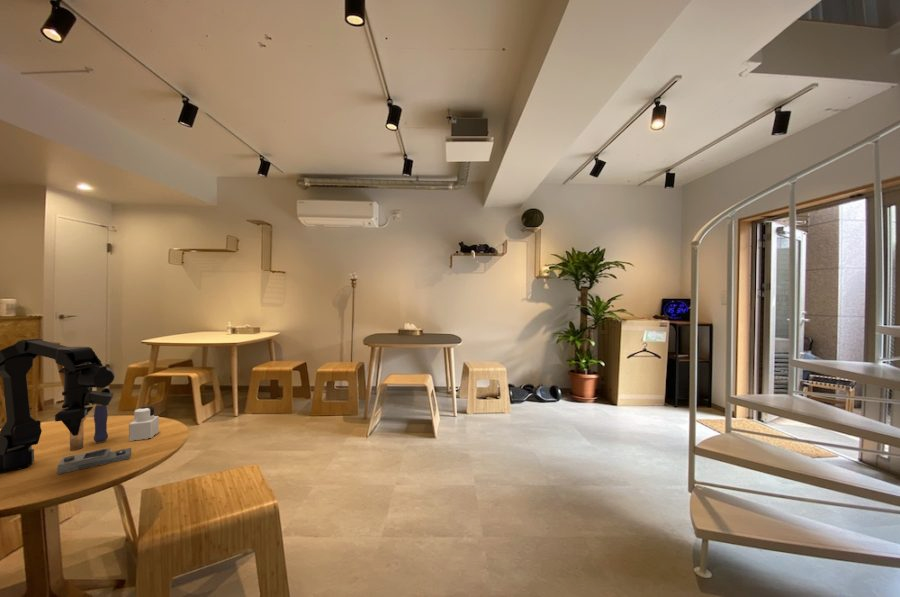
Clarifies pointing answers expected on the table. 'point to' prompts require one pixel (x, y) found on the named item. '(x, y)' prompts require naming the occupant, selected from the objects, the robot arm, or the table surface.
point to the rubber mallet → (101, 419)
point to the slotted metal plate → (92, 459)
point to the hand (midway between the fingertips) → (77, 433)
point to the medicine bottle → (143, 424)
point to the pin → (77, 438)
